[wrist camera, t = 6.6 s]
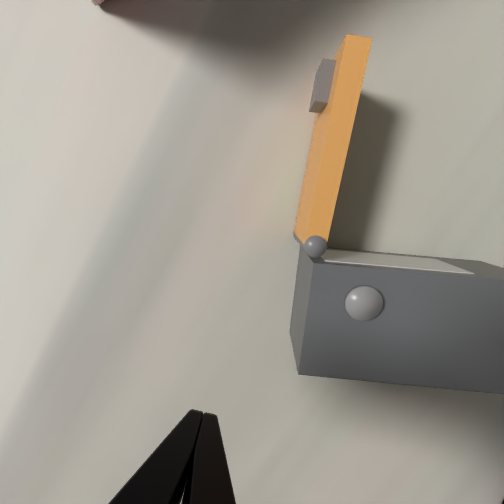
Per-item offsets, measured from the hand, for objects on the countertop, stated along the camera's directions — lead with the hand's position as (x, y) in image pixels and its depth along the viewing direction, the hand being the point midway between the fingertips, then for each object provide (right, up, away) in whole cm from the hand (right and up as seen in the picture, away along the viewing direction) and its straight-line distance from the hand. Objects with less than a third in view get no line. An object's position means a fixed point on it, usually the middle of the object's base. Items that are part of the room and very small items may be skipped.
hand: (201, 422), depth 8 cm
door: (+6, +11, +10) cm, 16 cm away
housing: (+11, +2, +12) cm, 16 cm away
